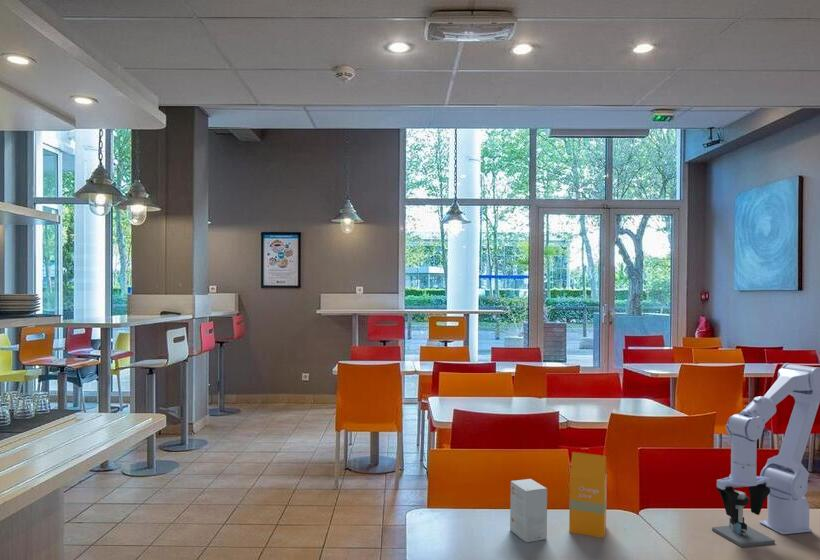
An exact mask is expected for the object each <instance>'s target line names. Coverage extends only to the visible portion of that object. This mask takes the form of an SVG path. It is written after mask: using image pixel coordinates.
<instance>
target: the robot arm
mask: <svg viewBox="0 0 820 560" xmlns="http://www.w3.org/2000/svg"><path fill="white" fill-rule="evenodd" d="M789 395H790V396H791V397H793V399H794V405H793V409H792V410H791V411H792V412H791V414H790V417H789V421H788V424H787V427H786V430H785V433H784V436H783V439H782V442H781V446H780V449H779V452H778V454H777V455H774V456H772V457H769V458H767V461H766V463H765V466H763V468H762V469H761V471H760V473H759V474H760V475H757V455H758V454H757V451H758V449H757V448H758V447H757V445H758V440H759V439H760V438H761V437H762V435H763V432H764V429H765V427H766V425H765V424H766V423H767V422H769V420H770V419H771V418H772V417H773V416H774V415H776V413H777V405H779V403H780V402H782V401H784V399H786V398H787V396H789ZM819 406H820V367H819V366H817V367H814V366H809V365H808V366H807V365H801V364H794V363H789V362H785V363H784V364H783V365H782V366H781V367H780V368H779V369H778V371H777V379H776V380H775V381H774V383H773V384H772V385H771V386H770V388H769V389H768V390H767V392H766V393H765V394H764V395H763V396H761V395H760V396H755V397H754V398H753V399H752V401H750V403H748V405H746V407H744V409H742V410H741V412H739V413H735V414H733V415H731V416H729V418H728V420H727V423H726V424H725V429H726V432H727V434H728V436H729V437H728V440H729V441H730V443H731V445H730V447H731V448H730V474H729V476H727V477H724V478H720V479H719V478H718V479H716V490H717V492H718V493H719V496H720V498H721V500H722V502H723V506H724V509H725V514H726V515H727V516H729V518H731V517H735V510H736V501H737V498H738V496H739V493H737V492H735V491H734V490H735V489H734V488H744V487H747V489H748V492H749V498H750V500H749V502H750V503H749V504H750V505H749V506H750V512H751V513H752V514H753V515H754V514H755V515H757V516H760V513H761V511H762V508H763V505H764V503H765V501H766V498H767V506H766V507H767V508H766V509H767V510H766V511H767V514H766V515H767V518H766V519H765V520H759V521H758V522H759V523H760V524H762V526H763V525H764V526H765V527H767V528H769V529H771V530H773V531H775V532H777V533H779V534H781V535H792V534H801V533H810V532H813V529H812V528H810V505H809V502H808V499H807V498H806V497H805V495H806V494H807V491H808V488H809V484H808V482H809V475H810V472H809V471H808V470H807V468H806V467H805V466H804V465H803V464H802V460H803V458H804V457H803V456H804V455H805V451H806V447H807V444H808V440H809V438H810V434H811V431H812V428H813V425H814V422H815V418H816V415H817V412H818V409H819Z"/></svg>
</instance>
